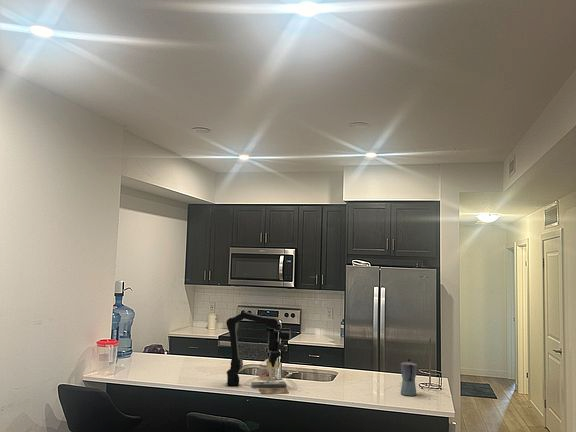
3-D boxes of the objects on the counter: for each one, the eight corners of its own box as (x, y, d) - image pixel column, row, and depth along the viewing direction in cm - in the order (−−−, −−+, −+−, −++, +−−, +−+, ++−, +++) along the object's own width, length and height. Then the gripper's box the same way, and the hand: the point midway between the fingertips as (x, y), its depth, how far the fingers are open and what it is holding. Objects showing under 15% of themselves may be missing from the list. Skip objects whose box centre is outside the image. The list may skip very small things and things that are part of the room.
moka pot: (413, 391, 317) (414, 357, 319) (420, 398, 302) (421, 362, 303) (397, 391, 317) (398, 356, 318) (404, 398, 301) (404, 361, 303)
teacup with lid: (256, 378, 337) (257, 360, 338) (262, 376, 345) (263, 357, 346) (273, 381, 332) (274, 362, 333) (279, 378, 341) (280, 359, 342)
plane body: (252, 388, 312) (253, 379, 313) (251, 385, 319) (251, 376, 320) (286, 387, 316) (286, 379, 317) (284, 385, 323) (284, 376, 323)
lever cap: (268, 368, 313) (268, 362, 313) (266, 367, 317) (266, 361, 318) (278, 368, 314) (278, 362, 314) (276, 366, 319) (276, 360, 319)
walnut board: (261, 393, 300) (261, 393, 300) (258, 389, 310) (258, 388, 310) (289, 393, 303) (289, 392, 303) (285, 389, 313) (285, 388, 313)
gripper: (289, 341, 310) (289, 369, 308) (283, 336, 328) (282, 363, 327) (270, 341, 307) (270, 369, 306) (265, 337, 325) (264, 363, 324)
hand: (272, 366), depth 316 cm, fingers closed on lever cap, 5 cm apart
